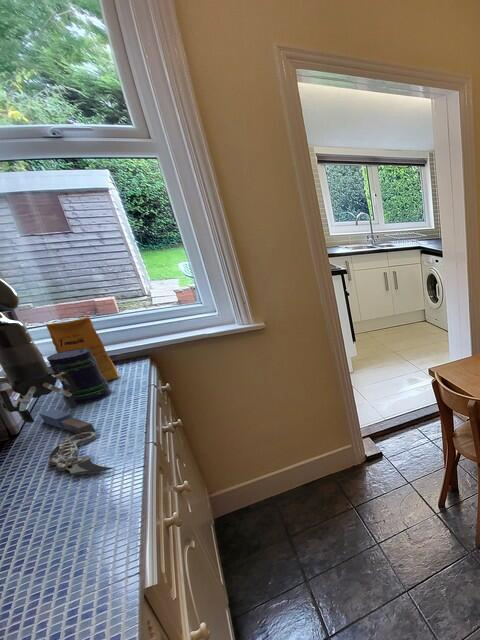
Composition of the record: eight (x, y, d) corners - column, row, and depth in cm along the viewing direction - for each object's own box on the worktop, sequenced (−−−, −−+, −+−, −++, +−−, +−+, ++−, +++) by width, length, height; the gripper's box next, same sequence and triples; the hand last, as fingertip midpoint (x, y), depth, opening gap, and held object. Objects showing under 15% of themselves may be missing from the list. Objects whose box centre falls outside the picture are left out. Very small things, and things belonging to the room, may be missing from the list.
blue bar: (75, 423, 116) (70, 414, 114) (61, 428, 113) (56, 419, 112) (58, 417, 119) (53, 408, 118) (44, 422, 117) (38, 413, 116)
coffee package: (70, 383, 143) (37, 323, 134) (116, 372, 152) (88, 314, 143) (73, 390, 137) (39, 327, 128) (121, 378, 146) (92, 318, 137)
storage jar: (73, 407, 126) (48, 361, 119) (67, 399, 131) (43, 355, 125) (115, 395, 133) (93, 351, 127) (108, 388, 138) (87, 346, 132)
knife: (114, 465, 93) (50, 485, 86) (116, 471, 93) (53, 491, 87) (99, 427, 110) (45, 441, 104) (101, 432, 111) (48, 446, 104)
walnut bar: (95, 431, 111) (91, 423, 110) (83, 436, 109) (79, 427, 108) (76, 425, 115) (72, 417, 114) (65, 429, 113) (60, 421, 112)
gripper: (51, 350, 115) (77, 402, 122) (-25, 368, 104) (10, 424, 110) (64, 353, 113) (91, 406, 119) (-12, 372, 101) (22, 429, 107)
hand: (52, 415), depth 115 cm, fingers open, 8 cm apart
